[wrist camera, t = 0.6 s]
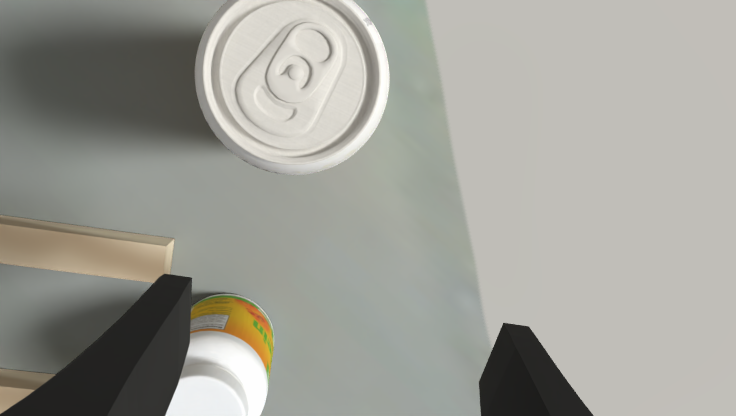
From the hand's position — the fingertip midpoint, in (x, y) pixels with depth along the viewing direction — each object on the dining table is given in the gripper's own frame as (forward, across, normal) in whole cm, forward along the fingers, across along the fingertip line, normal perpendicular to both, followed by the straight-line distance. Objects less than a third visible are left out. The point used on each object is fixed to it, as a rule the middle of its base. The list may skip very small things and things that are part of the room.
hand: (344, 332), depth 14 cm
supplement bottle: (+15, +5, +16) cm, 22 cm away
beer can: (+21, +3, +3) cm, 21 cm away
